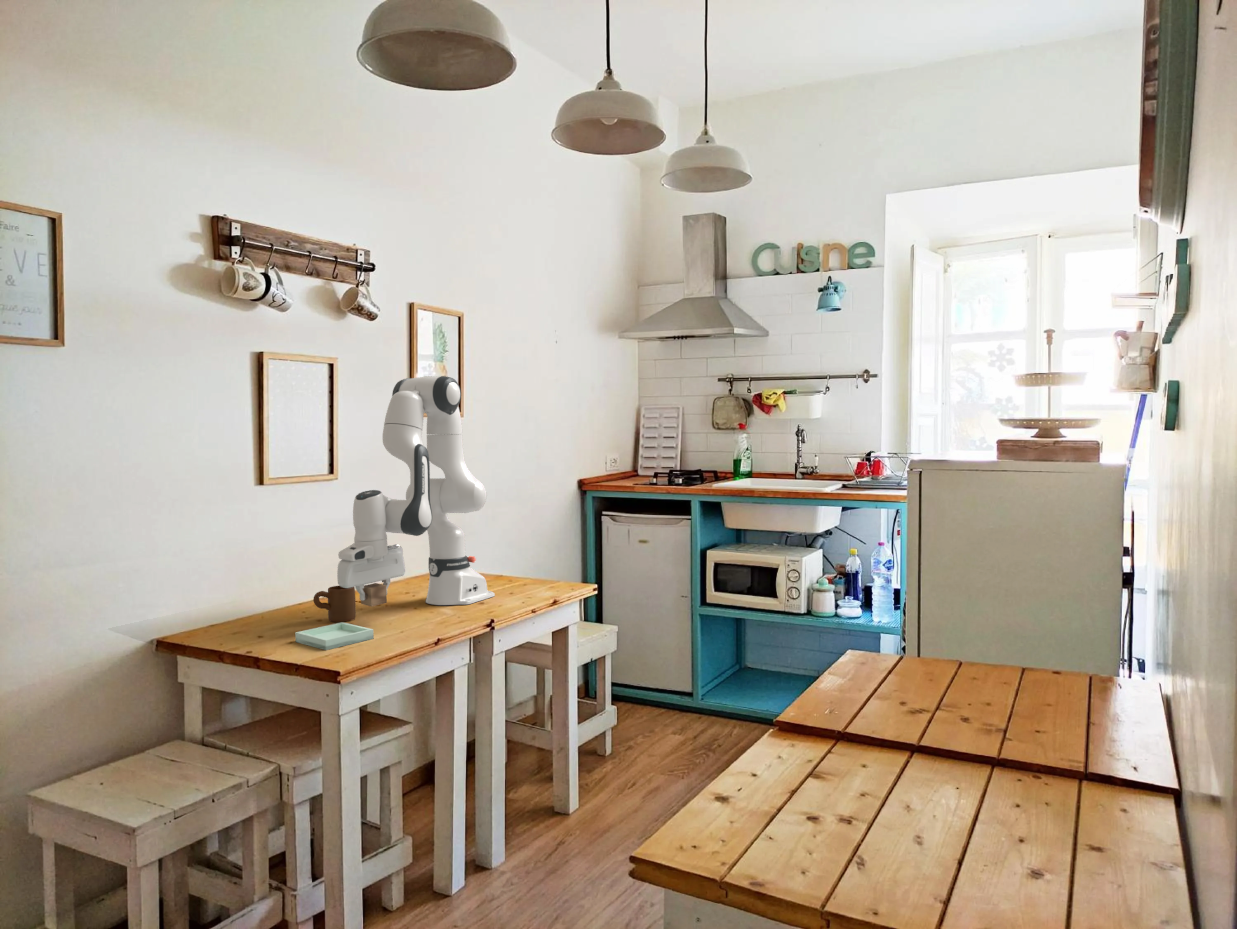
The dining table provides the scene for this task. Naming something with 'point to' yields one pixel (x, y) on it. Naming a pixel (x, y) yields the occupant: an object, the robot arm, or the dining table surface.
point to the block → (375, 594)
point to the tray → (334, 635)
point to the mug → (338, 603)
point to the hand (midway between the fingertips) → (373, 597)
